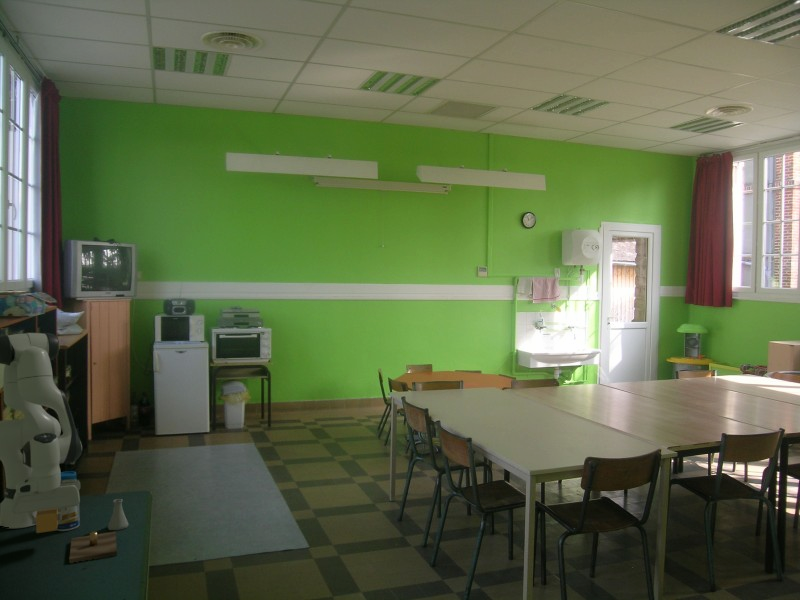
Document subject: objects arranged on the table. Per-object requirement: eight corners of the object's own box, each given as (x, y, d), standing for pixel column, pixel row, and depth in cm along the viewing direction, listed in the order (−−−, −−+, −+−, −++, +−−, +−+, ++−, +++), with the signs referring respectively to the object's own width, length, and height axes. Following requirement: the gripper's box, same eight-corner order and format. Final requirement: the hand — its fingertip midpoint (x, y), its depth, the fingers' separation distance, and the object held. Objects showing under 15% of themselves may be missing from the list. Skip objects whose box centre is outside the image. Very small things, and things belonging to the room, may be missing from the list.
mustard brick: (38, 526, 223) (37, 509, 222) (57, 523, 225) (57, 506, 225) (36, 533, 217) (36, 515, 217) (56, 530, 220) (56, 513, 219)
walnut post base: (71, 542, 224) (71, 527, 224) (115, 535, 230) (115, 520, 230) (69, 563, 208) (68, 546, 208) (116, 555, 214) (116, 539, 214)
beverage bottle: (85, 523, 242) (83, 470, 241) (71, 532, 234) (70, 477, 233) (63, 522, 243) (62, 469, 242) (49, 531, 234) (47, 476, 234)
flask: (128, 529, 236) (128, 502, 236) (107, 532, 233) (106, 505, 233) (129, 522, 243) (128, 496, 243) (108, 525, 240) (107, 498, 240)
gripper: (80, 475, 227) (81, 513, 228) (13, 483, 219) (14, 522, 220) (80, 481, 221) (80, 520, 222) (10, 489, 213) (11, 530, 214)
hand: (47, 521), depth 221 cm, fingers closed on mustard brick, 6 cm apart
